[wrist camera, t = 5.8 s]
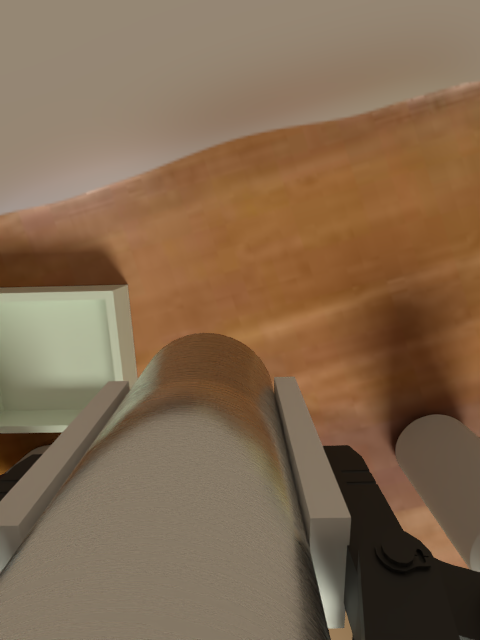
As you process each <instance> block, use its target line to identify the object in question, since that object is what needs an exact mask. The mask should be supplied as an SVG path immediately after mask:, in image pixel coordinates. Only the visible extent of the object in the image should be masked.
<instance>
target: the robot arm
mask: <svg viewBox="0 0 480 640" xmlns="http://www.w3.org/2000/svg"><path fill="white" fill-rule="evenodd" d="M129 391H130V388H129V381H108V382H107V384H106V385H105V386H104V387H103V388H102V389H101V390H100V391H99V392H98V394H97V395H96V396H95V397H94V398H93V399H92V400H91V401H90V402H89V404H88V405H87V406H86V407H85V408H84V409H83V410H82V411H81V412H80V414H79V415H78V416H77V417H76V418H75V419H74V420H73V421H72V422H71V423H70V425H69V426H68V427H67V428H66V429H65V430H64V431H63V432H62V433H61V435H60V436H59V437H58V438H57V439H56V440H55V441H54V442H53V443H52V445H51V446H50V447H49V448H48V449H47V450H46V451H45V452H44V453H43V454H32V455H30V456H29V457H27V458H26V459H24V460H22V461H21V462H19V463H18V464H16V465H15V466H13V467H12V468H11V469H10V470H9V471H8V472H7V473H6V474H5V475H4V476H3V477H2V478H1V479H0V573H1V571H2V570H3V569H4V567H5V566H6V564H7V563H8V561H9V560H10V559H11V557H12V556H13V554H14V553H15V552H16V550H17V549H18V547H19V546H20V545H21V543H22V542H23V540H24V539H25V538H26V536H27V535H28V533H29V532H30V530H31V529H32V528H33V526H34V525H35V523H36V522H37V521H38V519H39V518H40V516H41V515H42V514H43V512H44V511H45V509H46V508H47V506H48V505H49V504H50V502H51V501H52V499H53V498H54V497H55V495H56V494H57V492H58V491H59V490H60V488H61V487H62V485H63V484H64V483H65V481H66V480H67V478H68V477H69V475H70V474H71V473H72V471H73V470H74V468H75V467H76V466H77V464H78V463H79V461H80V460H81V459H82V457H83V456H84V454H85V453H86V451H87V450H88V449H89V447H90V446H91V444H92V443H93V442H94V440H95V439H96V437H97V436H98V435H99V433H100V432H101V430H102V429H103V428H104V426H105V425H106V423H107V422H108V420H109V419H110V418H111V416H112V415H113V413H114V412H115V411H116V409H117V408H118V406H119V405H120V404H121V402H122V401H123V399H124V398H125V396H126V395H127V394H128V392H129ZM274 395H275V399H276V404H277V408H278V412H279V417H280V421H281V425H282V430H283V434H284V438H285V443H286V447H287V451H288V456H289V460H290V465H291V469H292V473H293V478H294V482H295V486H296V491H297V495H298V499H299V504H300V508H301V512H302V517H303V521H304V526H305V530H306V534H307V539H308V543H309V547H310V552H311V556H312V560H313V565H314V569H315V574H316V578H317V582H318V587H319V591H320V595H321V600H322V604H323V608H324V613H325V617H326V621H327V626H328V628H344V621H345V609H346V613H347V616H348V620H349V623H350V626H351V630H352V633H353V638H352V640H480V572H477V571H473V570H469V569H466V568H462V567H458V566H454V565H451V564H448V563H445V562H442V561H440V560H438V559H436V558H434V557H433V555H432V553H431V552H430V551H429V550H428V549H427V548H426V547H425V546H424V545H423V543H422V542H421V541H420V540H418V539H416V538H415V537H413V536H412V535H410V534H408V533H407V532H404V531H403V529H402V527H401V526H400V524H399V522H398V520H397V518H396V517H395V515H394V513H393V511H392V510H391V508H390V506H389V504H388V502H387V501H386V499H385V497H384V495H383V494H382V492H381V490H380V488H379V486H378V485H377V484H376V481H375V479H374V478H373V476H372V474H371V473H370V472H369V469H368V467H367V465H366V463H365V462H364V460H363V458H362V456H360V455H359V454H358V453H357V452H356V451H354V450H353V449H352V448H351V447H350V446H348V445H342V446H322V444H321V441H320V439H319V436H318V434H317V431H316V429H315V426H314V424H313V421H312V419H311V416H310V414H309V411H308V409H307V406H306V404H305V401H304V399H303V396H302V394H301V391H300V389H299V386H298V384H297V382H296V379H295V377H274Z"/></svg>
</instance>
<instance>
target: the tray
mask: <svg viewBox="0 0 480 640" xmlns="http://www.w3.org/2000/svg"><path fill="white" fill-rule="evenodd" d="M137 380H138V378H137V369H136V359H135V350H134V340H133V331H132V321H131V312H130V302H129V293H128V285H91V286H48V287H5V288H0V433H54V432H63V431H64V430H65V429H66V428H67V427H68V426H69V425H70V423H71V422H72V421H73V420H74V419H75V418H76V417H77V416H78V415H79V414H80V412H81V411H82V410H83V409H84V408H85V407H86V406H87V405H88V404H89V402H90V401H91V400H92V399H93V398H94V397H95V396H96V395H97V394H98V392H99V391H100V390H101V389H102V388H103V387H104V386H105V385H106V384H107V382H108V381H129V388H130V389H131V388H132V387H133V385H134V384H135V382H136V381H137Z"/></svg>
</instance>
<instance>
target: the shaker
mask: <svg viewBox="0 0 480 640" xmlns="http://www.w3.org/2000/svg"><path fill="white" fill-rule="evenodd" d="M0 640H331V639H330V635H329V630H328V626H327V621H326V617H325V613H324V608H323V604H322V600H321V595H320V591H319V587H318V582H317V578H316V574H315V569H314V565H313V560H312V556H311V552H310V547H309V543H308V539H307V534H306V530H305V526H304V521H303V517H302V512H301V508H300V504H299V499H298V495H297V491H296V486H295V482H294V478H293V473H292V469H291V465H290V460H289V456H288V451H287V447H286V443H285V438H284V434H283V430H282V425H281V421H280V417H279V412H278V408H277V404H276V399H275V395H274V390H273V386H272V382H271V378H270V375H269V373H268V370H267V369H266V367H265V365H264V363H263V362H262V361H261V359H260V358H259V357H258V356H257V355H256V354H255V352H254V351H252V350H251V349H250V348H249V347H247V346H246V345H244V344H243V343H241V342H240V341H238V340H235V339H233V338H231V337H227V336H224V335H220V334H214V333H199V334H192V335H187V336H184V337H181V338H178V339H176V340H174V341H172V342H171V343H169V344H168V345H166V346H165V347H163V348H162V349H161V350H160V351H159V352H158V353H157V354H156V355H155V356H154V357H153V359H152V360H151V361H150V363H149V364H148V365H147V367H146V368H145V370H144V371H143V373H142V374H141V375H140V377H139V378H138V380H137V381H136V382H135V384H134V385H133V387H132V388H131V389H130V391H129V392H128V394H127V395H126V396H125V398H124V399H123V401H122V402H121V404H120V405H119V406H118V408H117V409H116V411H115V412H114V413H113V415H112V416H111V418H110V419H109V420H108V422H107V423H106V425H105V426H104V428H103V429H102V430H101V432H100V433H99V435H98V436H97V437H96V439H95V440H94V442H93V443H92V444H91V446H90V447H89V449H88V450H87V451H86V453H85V454H84V456H83V457H82V459H81V460H80V461H79V463H78V464H77V466H76V467H75V468H74V470H73V471H72V473H71V474H70V475H69V477H68V478H67V480H66V481H65V483H64V484H63V485H62V487H61V488H60V490H59V491H58V492H57V494H56V495H55V497H54V498H53V499H52V501H51V502H50V504H49V505H48V506H47V508H46V509H45V511H44V512H43V514H42V515H41V516H40V518H39V519H38V521H37V522H36V523H35V525H34V526H33V528H32V529H31V530H30V532H29V533H28V535H27V536H26V538H25V539H24V540H23V542H22V543H21V545H20V546H19V547H18V549H17V550H16V552H15V553H14V554H13V556H12V557H11V559H10V560H9V561H8V563H7V564H6V566H5V567H4V569H3V570H2V571H1V573H0Z"/></svg>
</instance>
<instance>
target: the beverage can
mask: <svg viewBox="0 0 480 640" xmlns="http://www.w3.org/2000/svg"><path fill="white" fill-rule="evenodd" d="M395 452H396V459H397V462H398V464H399V466H400V467H401V469H402V470H403V472H404V473H405V475H406V476H407V478H408V479H409V481H410V482H411V483H412V485H413V486H414V488H415V489H416V491H417V492H418V494H419V495H420V497H421V498H422V500H423V501H424V503H425V504H426V506H427V507H428V508H429V510H430V511H431V513H432V514H433V516H434V517H435V519H436V520H437V522H438V523H439V525H440V526H441V528H442V529H443V530H444V532H445V533H446V535H447V536H448V538H449V539H450V541H451V542H452V544H453V545H454V547H455V548H456V550H457V551H458V552H459V554H460V555H461V557H462V558H463V560H464V561H465V563H466V564H467V566H468V567H469V569H470V570H473V571H477V572H480V438H479V437H478V436H477V435H476V434H474V433H473V432H472V431H471V430H470V429H468V428H467V427H466V426H465V425H464V424H463V423H461V422H460V421H459V420H457V419H455V418H453V417H450V416H447V415H440V414H434V415H428V416H424V417H421V418H419V419H417V420H415V421H413V422H412V423H410V424H409V425H408V426H407V427H406V428H405V429H404V430H403V432H402V433H401V435H400V436H399V438H398V440H397V443H396V449H395Z"/></svg>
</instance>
